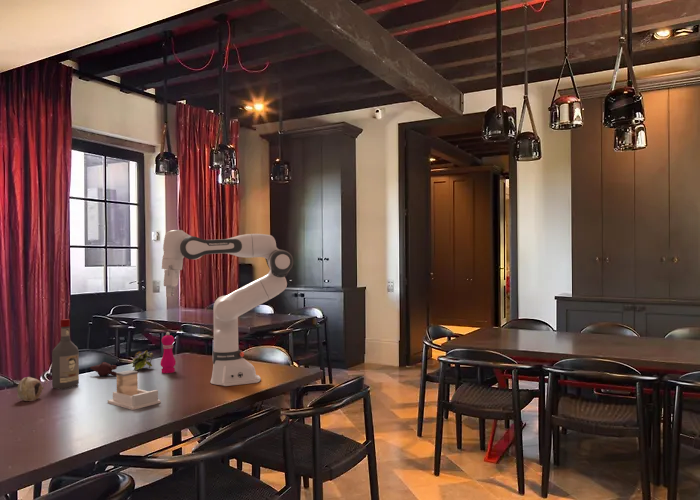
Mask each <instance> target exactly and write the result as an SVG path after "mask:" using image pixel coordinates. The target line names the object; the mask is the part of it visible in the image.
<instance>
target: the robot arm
mask: <svg viewBox="0 0 700 500" xmlns="http://www.w3.org/2000/svg"><path fill="white" fill-rule="evenodd" d="M276 242H277V241H276V239H275V237H274V236H273V235H271V234H264V233H245V234H239V235H236V236H233V237H232V236H231V237H229V238H223V239H202V238H200V237H197V236H194V235H190V234H188V233H187V232H185V231H184V230H183V229H173V230H169V231H168V230H167V232H166V233H165V235H164V237H163V247H162V249H163V254H162V260H161V269H162V270H164V277H163V286H164V287H165V292H166V293H165V296H166V297H167V298H171V297H174V296H175V290H176V289H175V288H176V287H177V286H178V284H179V280H180V273H181V271H182V270H183V267H184V266H183V263H184V258H185V259H187V260H198V259H201V258H202V257H203V256H206V255H216V254H227V255H232V256H235V257H238V258H247V259H248V258H253V259H254V258H264V260H265V262H266V264H267V266H268V268H269V271H268V273H267V274H265V275H263V276H261V277H259V278H258V279H255V280H253V281H251V282H249V283H247V284H245V285H243V286H241V287H240V288H238V289H236V290H234V291H232V292H231V293H229V294H226V295H225V294H224V295H221V296H218V297H217V299H216V300H215V301H214V304H213V351H212V364H213V366H212V373H211V379H210V383H211V384H212V385H218V386H223V387H229V386H238V385H239V386H240V385H246V384H247V385H248V384H257V383H259V382H261V376H260V375H258V374H256V369H255V366H254V365H253V364H252V363H251V362H249V361H248V360H247V359H245V358H243V357H244V356H245V352H244V351H242V350H240V349H239V317H240V316H243V315H244V314H245V313H248V312H249V311H251V310H253V309H254V308H256V307H258V306H261V305H262V304H264V303H266V302H268V301H270V300H271V299H273V298H275V297H277V296H278V295H280V294H281V293H283V292H284V291H285V290H286V289H287V285H288V282H287V278H286V277H287V276H288V274H289V272H290V270H291V269H292V268H293V265H294V258H293V255H292V254H291V253H290V252H289V251H288V250H284V249H279V248H278V247H277V243H276Z"/></svg>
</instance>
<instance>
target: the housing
mask: <svg viewBox="0 0 700 500" xmlns="http://www.w3.org/2000/svg"><path fill="white" fill-rule="evenodd" d="M160 403H162V401H161V399H159V390H158V389H153V390H150V391H149V390H148V391H147V390H145V389H139V388H138V394H136V395H132V396H130V395H126V394H122V393H118V392H117V391H113V392H112V399H108V400H107V404H109V405H114V406H116V407H117V406H118V407H121V408H125V409H128V410H132V411H134V410H138V409H141V408H146V407H149V406H154V405H156V404H157V405H158V404H160Z"/></svg>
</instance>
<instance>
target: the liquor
mask: <svg viewBox="0 0 700 500" xmlns="http://www.w3.org/2000/svg"><path fill="white" fill-rule="evenodd" d="M70 326H71V320H70V318H64V319H60V339H59V342H58V343H57V345H56V346H55V347H54V348H53V349H52V352H51V366H52V367H51V372H52V373H51V376H52V377H51V379H52V380H51V381H52V382H51V383H52V388H53V389H55V390H56V389H57V390H69V389H71V388H76V386H77V387H78V386H79V384H80V374H79V373H80V372H79V369H80V368H79V366H80V365H79V364H80V363H79V362H80V361H79V360H80V359H79V358H80V356H79V348H78V346H77V345H75V343H74V342H73V341H72V340H71V337H70V334H71V333H70V328H71V327H70Z"/></svg>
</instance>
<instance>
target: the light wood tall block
mask: <svg viewBox="0 0 700 500" xmlns="http://www.w3.org/2000/svg"><path fill="white" fill-rule="evenodd" d="M138 374H139V371H138V370H135V371H134V369H133V370H132V369H130V370H129V369H128V370H124V371H117V372H116V375H117V376H116V392H118V393H122V394H126V395H130V396H132V395H136V394H138V389H139V388H138V386H139V385H138V383H139V382H138V381H139V380H138Z"/></svg>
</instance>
